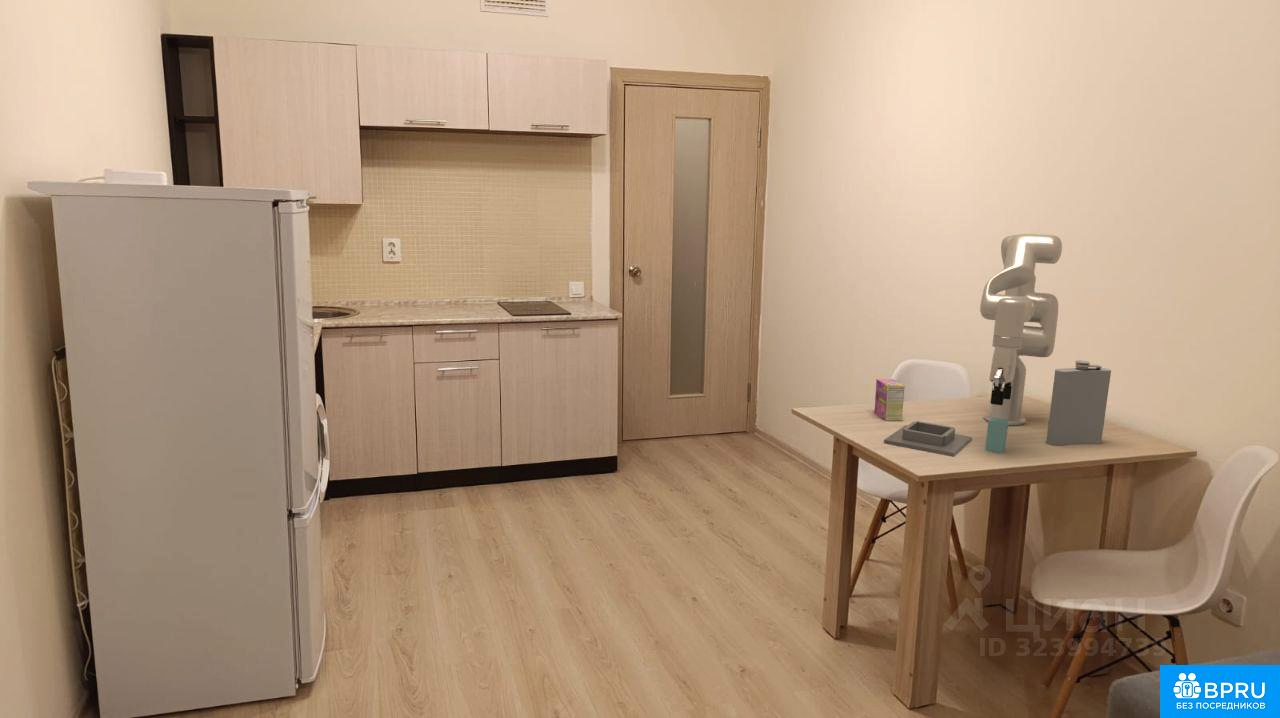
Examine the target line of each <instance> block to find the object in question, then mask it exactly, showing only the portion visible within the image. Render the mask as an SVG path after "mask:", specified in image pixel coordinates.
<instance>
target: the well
mask: <svg viewBox="0 0 1280 718" xmlns="http://www.w3.org/2000/svg"><path fill="white" fill-rule="evenodd" d="M972 440H973V436H969V435H963V434H957V433H956V428H955V427H954V426H948V425H943V424H937V423H936V424H935V423H931V422H925V421H920V420H919V421H918V420H915V421H912V422H910V423H909V424H906V425H903V426H902V427H901V428H899V429H897V430H896V431H894V432H893V433H892V434H889V436H888V437H886V438H884V440H883V444H886V445H892V446H897V447H903V448H908V449H914V450H918V451H924V452H929V453H933V454H938V455H943V454H944V455H945V456H948V455H949V456H950V457H955V456H956V455H957V454H958V453H960V452H961V450H962V449H964V448H965V447H966V446H967V445H968V444H969V443H970V442H972ZM965 445H966V446H965ZM964 446H965V447H964Z"/></svg>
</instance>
